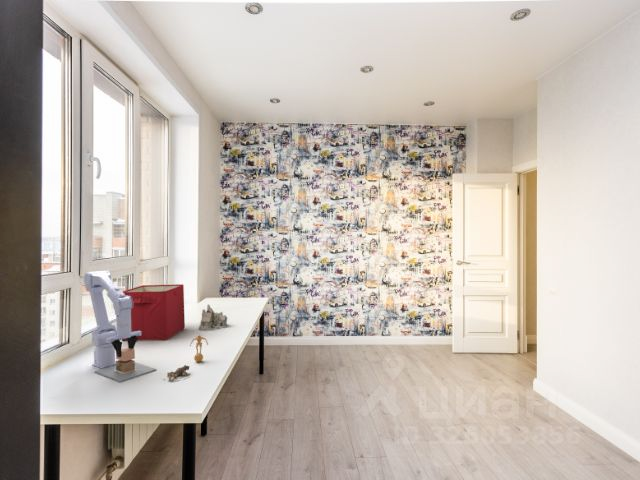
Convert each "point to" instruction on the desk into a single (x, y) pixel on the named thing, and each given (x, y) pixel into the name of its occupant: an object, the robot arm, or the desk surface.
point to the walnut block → (125, 366)
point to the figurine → (198, 356)
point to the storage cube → (157, 311)
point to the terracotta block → (126, 354)
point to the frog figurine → (177, 374)
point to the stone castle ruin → (212, 320)
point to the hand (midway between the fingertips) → (124, 355)
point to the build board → (120, 376)
